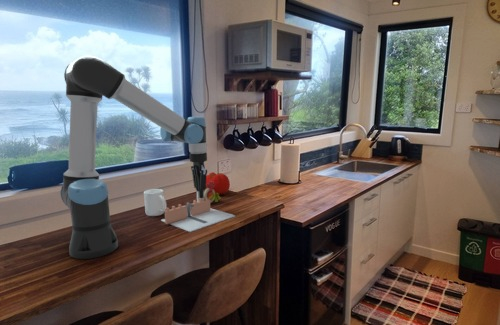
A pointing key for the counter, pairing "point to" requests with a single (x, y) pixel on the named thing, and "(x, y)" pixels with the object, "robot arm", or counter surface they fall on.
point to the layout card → (201, 220)
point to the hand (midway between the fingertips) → (200, 204)
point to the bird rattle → (211, 192)
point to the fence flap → (200, 206)
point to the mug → (154, 202)
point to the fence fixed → (177, 213)
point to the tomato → (219, 182)
